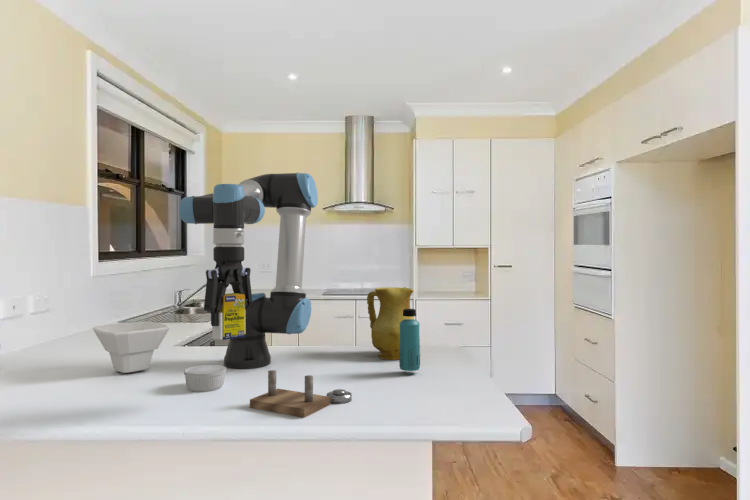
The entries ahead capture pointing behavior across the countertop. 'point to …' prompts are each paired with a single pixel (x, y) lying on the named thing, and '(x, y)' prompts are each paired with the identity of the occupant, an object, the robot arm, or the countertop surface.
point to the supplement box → (233, 316)
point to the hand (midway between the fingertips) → (229, 336)
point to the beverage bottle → (409, 342)
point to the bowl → (131, 343)
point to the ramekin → (205, 377)
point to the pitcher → (388, 319)
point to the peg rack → (290, 399)
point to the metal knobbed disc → (339, 396)
